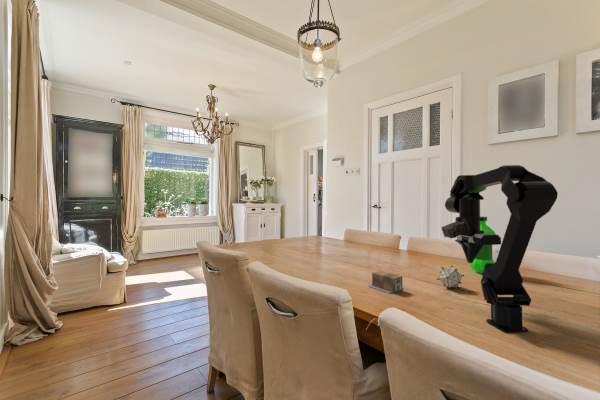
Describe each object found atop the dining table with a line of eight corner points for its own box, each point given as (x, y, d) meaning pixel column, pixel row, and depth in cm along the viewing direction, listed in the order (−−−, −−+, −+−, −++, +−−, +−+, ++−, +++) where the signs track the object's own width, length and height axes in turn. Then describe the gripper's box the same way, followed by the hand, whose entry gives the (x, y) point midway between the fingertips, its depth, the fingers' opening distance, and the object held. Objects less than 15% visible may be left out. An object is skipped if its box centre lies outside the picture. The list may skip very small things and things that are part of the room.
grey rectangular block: (402, 276, 101) (380, 270, 110) (393, 278, 98) (372, 272, 107) (402, 289, 101) (380, 283, 110) (393, 292, 98) (372, 285, 107)
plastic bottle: (495, 271, 125) (494, 216, 125) (496, 276, 117) (496, 217, 116) (469, 268, 131) (468, 215, 131) (469, 273, 122) (468, 217, 122)
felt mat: (403, 289, 103) (403, 288, 103) (389, 293, 98) (389, 292, 98) (382, 282, 111) (382, 282, 111) (368, 286, 106) (368, 285, 106)
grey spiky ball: (456, 299, 102) (470, 282, 96) (433, 289, 104) (446, 272, 98) (453, 281, 109) (467, 264, 103) (432, 273, 111) (444, 256, 105)
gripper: (429, 213, 97) (430, 257, 97) (465, 216, 78) (466, 271, 78) (459, 212, 98) (459, 256, 98) (502, 215, 79) (502, 269, 79)
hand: (470, 262), depth 88 cm, fingers closed
